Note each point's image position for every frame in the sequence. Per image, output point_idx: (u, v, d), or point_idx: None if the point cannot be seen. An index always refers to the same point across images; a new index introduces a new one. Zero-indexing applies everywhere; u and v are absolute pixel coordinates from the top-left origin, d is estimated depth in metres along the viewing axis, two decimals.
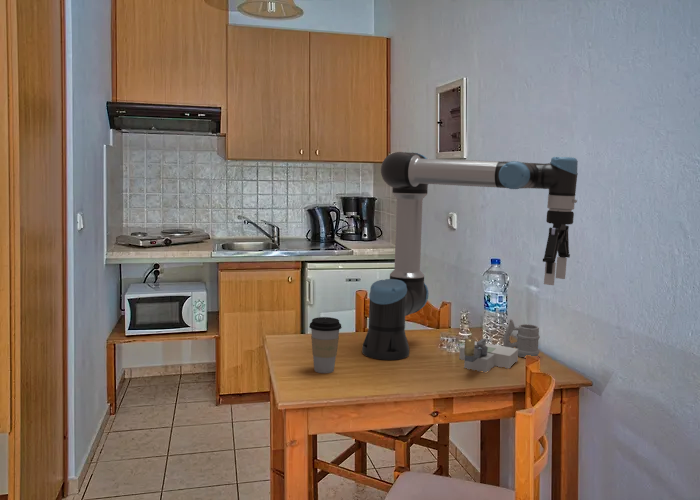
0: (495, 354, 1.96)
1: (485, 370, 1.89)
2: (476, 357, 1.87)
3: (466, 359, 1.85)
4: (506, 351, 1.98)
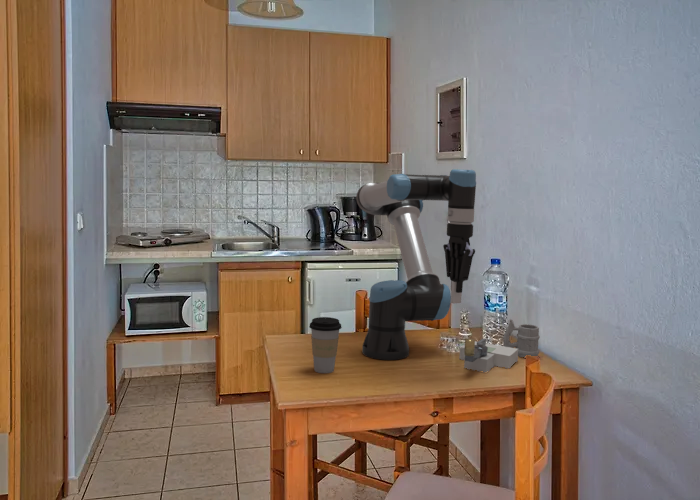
0: (495, 354, 1.96)
1: (485, 370, 1.89)
2: (476, 357, 1.87)
3: (466, 359, 1.85)
4: (506, 351, 1.98)
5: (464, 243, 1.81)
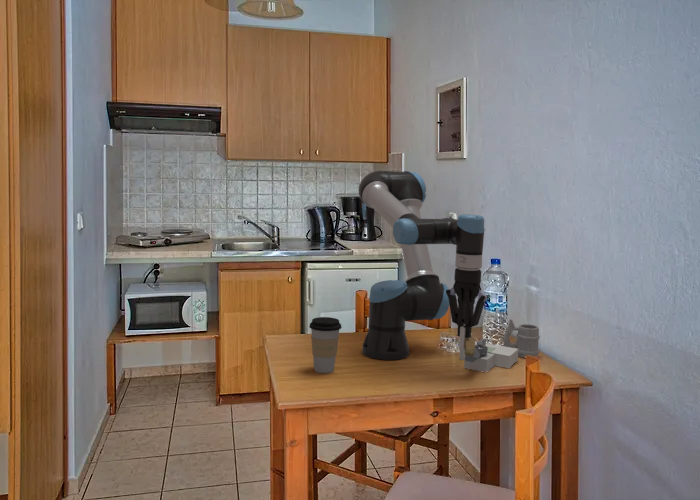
0: (495, 354, 1.96)
1: (485, 370, 1.89)
2: (476, 357, 1.87)
3: (466, 359, 1.85)
4: (506, 351, 1.98)
5: (477, 289, 1.80)
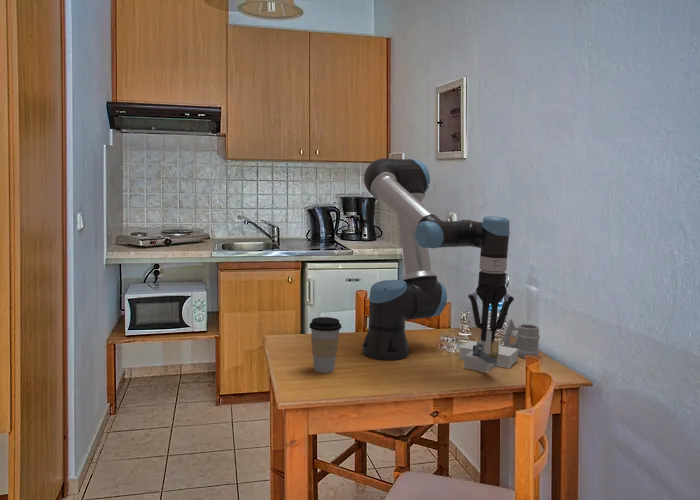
0: None
1: (485, 370, 1.89)
2: None
3: (490, 362, 1.83)
4: (506, 351, 1.98)
5: (505, 291, 1.80)
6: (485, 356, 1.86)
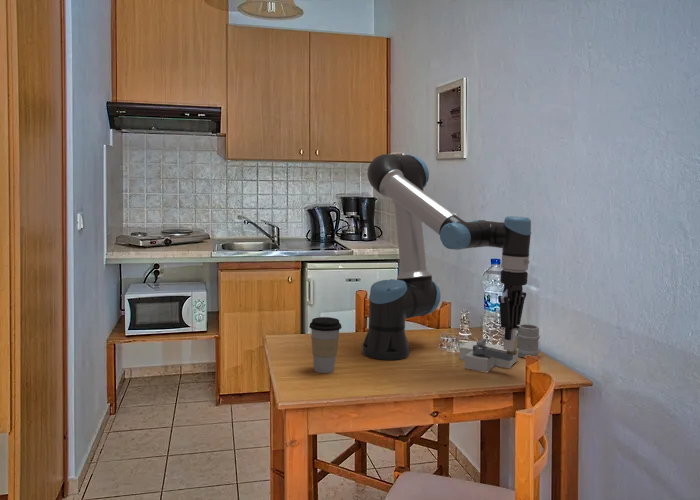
0: None
1: (485, 370, 1.89)
2: None
3: (510, 359, 1.87)
4: None
5: (522, 288, 1.86)
6: (500, 355, 1.88)
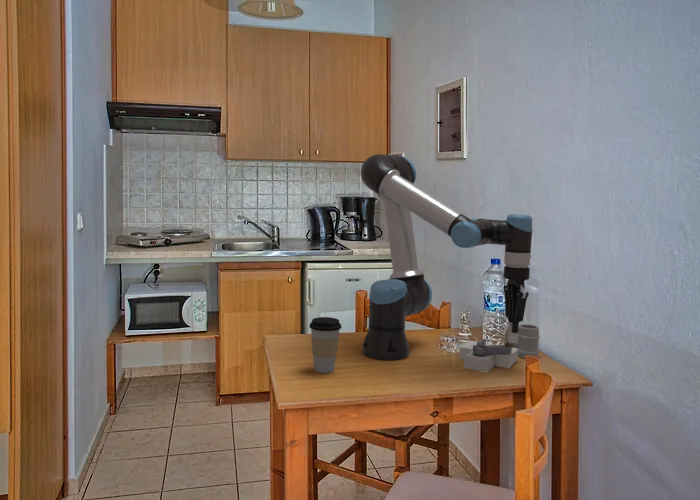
0: (495, 354, 1.96)
1: (485, 370, 1.89)
2: None
3: None
4: None
5: None
6: (502, 350, 1.94)
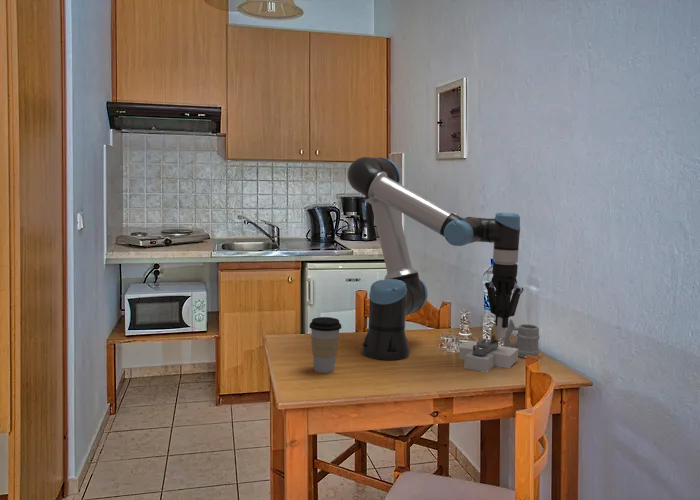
0: (495, 354, 1.96)
1: (485, 370, 1.89)
2: None
3: None
4: (506, 351, 1.98)
5: None
6: (494, 346, 1.98)
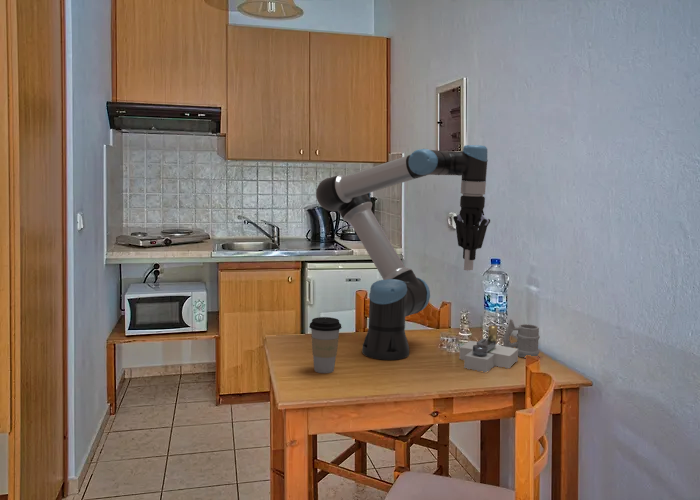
0: (495, 354, 1.96)
1: (485, 370, 1.89)
2: None
3: None
4: (506, 351, 1.98)
5: None
6: (492, 345, 1.98)
